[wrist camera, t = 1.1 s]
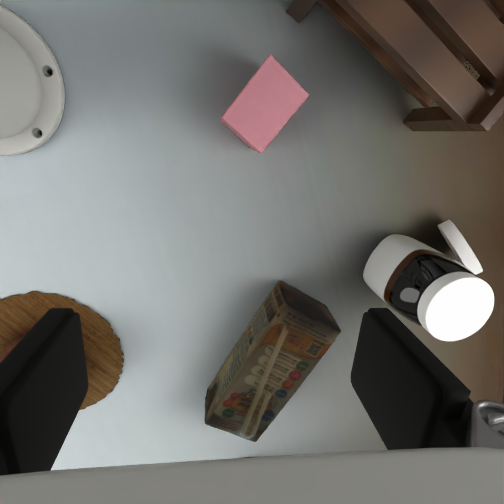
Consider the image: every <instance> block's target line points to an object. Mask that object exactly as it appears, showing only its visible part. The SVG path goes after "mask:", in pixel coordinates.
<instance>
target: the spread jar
mask: <svg viewBox="0 0 504 504" xmlns="http://www.w3.org/2000/svg"><path fill="white" fill-rule="evenodd" d="M438 228H439V230H440V232H441V234H442V235H443V237H444V239H445V240H446V242H447V244H448V245H449V247H450V248H451V250H452V251H453V253H454V255H455V256H456V258H457V259H458V261H459V262H460V263H459V262H458V261H456V260H454V259H452V258H450V257H449V256H447V255H445V254H443V253H441V252H439V251H437V250H435V249H433V248H432V247H430V246H428V245H426V244H424V243H422V242H420V241H418V240H416V239H414V238H411V237H408V236H404V235H399V234H393V235H389V236H387V237H385V238H384V239H383V240H382V241H381V242H380V243H379V244H378V245H377V246H376V247H375V248H374V250H373V251H372V252H371V254H370V256H369V258H368V260H367V262H366V265H365V268H364V272H363V278H364V280H365V282H366V284H367V285H368V286H369V287H370V288H371V289H372V290H373V291H374V292H375V293H376V294H377V295H378V296H379V297H380V298H381V299H382V300H383V301H384V302H385V303H386V304H388V305H389V306H390V307H391V308H393V309H394V310H395V311H397V312H398V313H399V314H401V315H402V316H404V317H405V318H407V319H408V320H410V321H412V322H414V323H416V324H418V325H420V326H422V327H424V328H425V329H426V330H427V331H428V332H429V333H430V334H432V335H433V336H434V337H435V338H437V339H439V340H443V341H457V340H460V339H464V338H466V337H468V336H470V335H472V334H473V333H475V332H476V331H478V330H479V329H480V328H481V327H482V326H483V325H484V324H485V323H486V321H487V320H488V318H489V317H490V315H491V312H492V310H493V306H494V294H493V291H492V289H491V287H490V286H489V285H488V284H487V283H486V282H485V281H483V280H482V279H480V278H478V277H477V276H476V274H478V273H481V272H483V269H482V267H481V265H480V263H479V261H478V259H477V258H476V256H475V254H474V253H473V251H472V249H471V248H470V246H469V245H468V243H467V242H466V240H465V239H464V237H463V236H462V234H461V233H460V232H459V230H458V229H457V228H456V226H455V225H454V224H453V223H452V222H451V220H447V221H445V222H443V223H441V224H439V225H438Z"/></svg>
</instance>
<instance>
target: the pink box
mask: <svg viewBox="0 0 504 504" xmlns="http://www.w3.org/2000/svg"><path fill="white" fill-rule="evenodd" d="M308 96H309V94H308V93H307V92H306V91H305V90H304V89H303V87H302V86H301V85H300V84H299V83H298V82H297V81H296V80H295V79H294V78H293V77H292V76H291V75H290V74H289V73H288V72H287V71H286V70H285V69H284V68H283V67H282V66H281V65H280V63H279V62H278V61H277V60H276V59H275V58H274V57H273V56H272V55H271V54H270V55H269V56H268V58H267V59H266V60H265V61H264V63H263V64H262V65H261V66H260V68H259V69H258V70H257V71H256V73H255V74H254V75H253V77H252V78H251V79H250V81H249V82H248V83H247V84H246V86H245V87H244V88H243V90H242V91H241V92H240V93H239V95H238V96H237V97H236V99H235V100H234V101H233V103H232V104H231V105H230V106H229V108H228V109H227V110H226V112H225V113H224V114H223V115H222V117H221V118H220V121H222V122H223V123H224V124H225V125H226V126H227V127H228V128H229V129H230V130H232V131H233V132H234V133H235V134H236V135H237V136H238V137H239V138H240V139H242V140H243V141H244V142H245V143H246V144H247V145H248V146H249V147H250V148H252V149H253V150H255V151H257V152H259V153H262V152H263V151H264V150H265V149H266V147H267V146H268V145H269V144H270V142H271V141H272V140H273V139H274V138H275V136H276V135H277V134H278V133H279V131H280V130H281V129H282V128H283V127H284V125H285V124H286V123H287V122H288V121H289V119H290V118H291V117H292V116H293V114H294V113H295V112H296V111H297V110H298V108H299V107H300V106H301V105H302V103H303V102H304V101H305V100H306V99H307V97H308Z"/></svg>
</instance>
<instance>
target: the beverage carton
mask: <svg viewBox="0 0 504 504" xmlns="http://www.w3.org/2000/svg"><path fill="white" fill-rule="evenodd" d="M340 333H341V330H340V328H339V326H338V324H337V323H336V321H335V319H334V318H333V316H332V314H331V313H330V311H329V309H328V308H327V306H326V305H324V304H322V303H321V302H319V301H317V300H315V299H313V298H311V297H309V296H308V295H306V294H304V293H302V292H300V291H299V290H297V289H295V288H293V287H291V286H289V285H288V284H286V283H284V282H282V281H278V283H277V284H276V286H275V287H274V288H273V290H272V291H271V293H270V294H269V295H268V297H267V298H266V300H265V301H264V303H263V304H262V306H261V307H260V309H259V310H258V312H257V313H256V315H255V316H254V318H253V319H252V321H251V323H250V324H249V326H248V327H247V329H246V330H245V332H244V333H243V335H242V336H241V338H240V339H239V341H238V342H237V344H236V345H235V347H234V348H233V350H232V352H231V353H230V355H229V356H228V358H227V359H226V361H225V362H224V364H223V365H222V367H221V368H220V370H219V372H218V373H217V375H216V377H215V379H214V380H213V382H212V383H211V385H210V386H209V387H208V389H207V392H206V397H205V424H207V425H209V426H212V427H215V428H218V429H221V430H223V431H226V432H229V433H232V434H234V435H237V436H240V437H242V438H245V439H247V440H251V441H253V442H256V441H257V440H258V438H259V437H260V436H261V435H262V433H263V432H264V431H265V430H266V429H267V427H268V426H269V425H270V423H271V422H272V421H273V420H274V419H275V417H276V416H277V415H278V413H279V412H280V411H281V410H282V408H283V407H284V406H285V404H286V403H287V402H288V401H289V399H290V398H291V397H292V395H293V394H294V393H295V392H296V390H297V389H298V388H299V387H300V385H301V384H302V383H303V381H304V380H305V379H306V377H307V376H308V375H309V374H310V372H311V371H312V370H313V368H314V367H315V366H316V364H317V363H318V362H319V360H320V359H321V358H322V356H323V355H324V354H325V353H326V351H327V350H328V348H329V347H330V346H331V345H332V343H333V342H334V341H335V339H336V337H337V336H338V335H339V334H340Z"/></svg>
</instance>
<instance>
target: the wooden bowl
mask: <svg viewBox="0 0 504 504" xmlns="http://www.w3.org/2000/svg"><path fill="white" fill-rule="evenodd" d="M50 308H72V309H73V310H74V312H78V313H79V315H80V319H81V327H82V335H83V343H84V351H85V359H86V367H87V375H88V391H87V394H86V396H85V399H84V401H83V403H82V405H81V407H80V409H79V410H81V409H85V408H86V407H87V406H90V405H93V404H95V403H97V402H98V401H100V400H102V399H103V398H105V397H106V395H107V394H108V393H110V392H112V390H113V388H114V387H115V386H116V384H117V383H118V382H119V381H117V380H118V379H120V378H118V377H119V375H121V374H122V371H121V369H122V367H123V365H122V363H123V361H124V359H123V358H122V355H124V354H123V352H122V350H121V347H120V339H119V338H117V337H116V335H115V334H114V333H113V329H112V328H111V327H110V324H109V323H108V322H107V321H106V320H105V319H104V318H102V317H100V315H99V314H97V313H94V312H93V311H92V310H91V309H90V308H88V307H87V306H84V305H80V304H77V303H76V302H75V300H74V299H68V298H67V297H62V296H59V295H57V294H42V293H40V292H29V293H27V294H25V295H15V296H10V297H8V298H5V299H4V300H2V299H0V363H1V362H2V360H3V359H4V358H5V357H6V356H7V355H8V354H9V353H10V352H11V351H12V349H13V348H14V347H15V346H16V345H17V344H18V343H19V342H20V341H21V340H22V338H23V337H24V336H25V335H26V334H27V333H28V332H29V331H30V330H31V329H32V328H33V326H34V325H35V324H36V323H37V322H38V321H39V320H40V319H41V318H42V317H43V315H44V314H45V313H46V312H47V311H48V310H49V309H50Z"/></svg>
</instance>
